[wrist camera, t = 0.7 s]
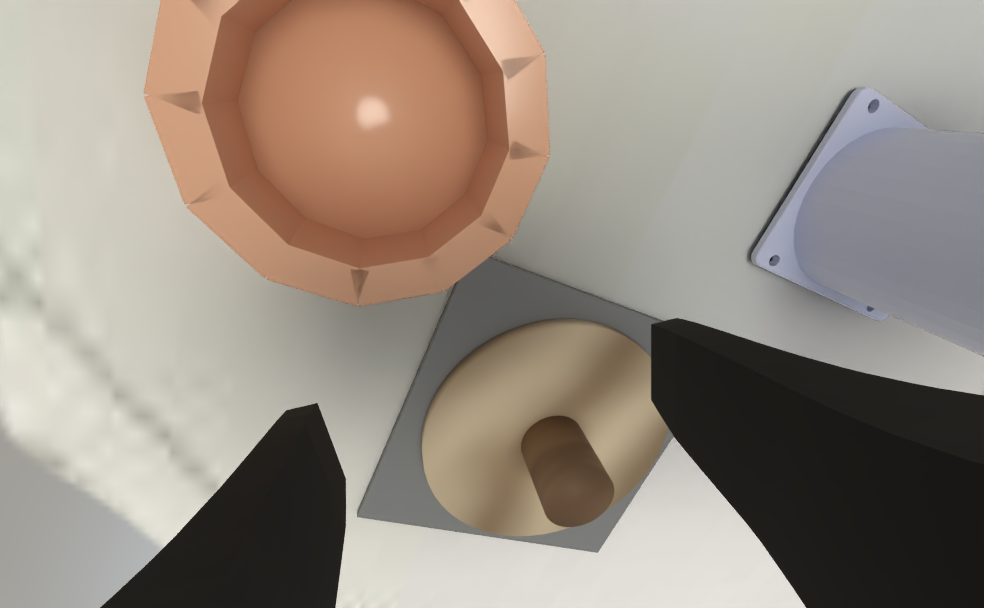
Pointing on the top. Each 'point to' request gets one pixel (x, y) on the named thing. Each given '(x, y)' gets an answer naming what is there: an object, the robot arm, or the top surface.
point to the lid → (542, 428)
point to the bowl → (353, 135)
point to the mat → (462, 328)
